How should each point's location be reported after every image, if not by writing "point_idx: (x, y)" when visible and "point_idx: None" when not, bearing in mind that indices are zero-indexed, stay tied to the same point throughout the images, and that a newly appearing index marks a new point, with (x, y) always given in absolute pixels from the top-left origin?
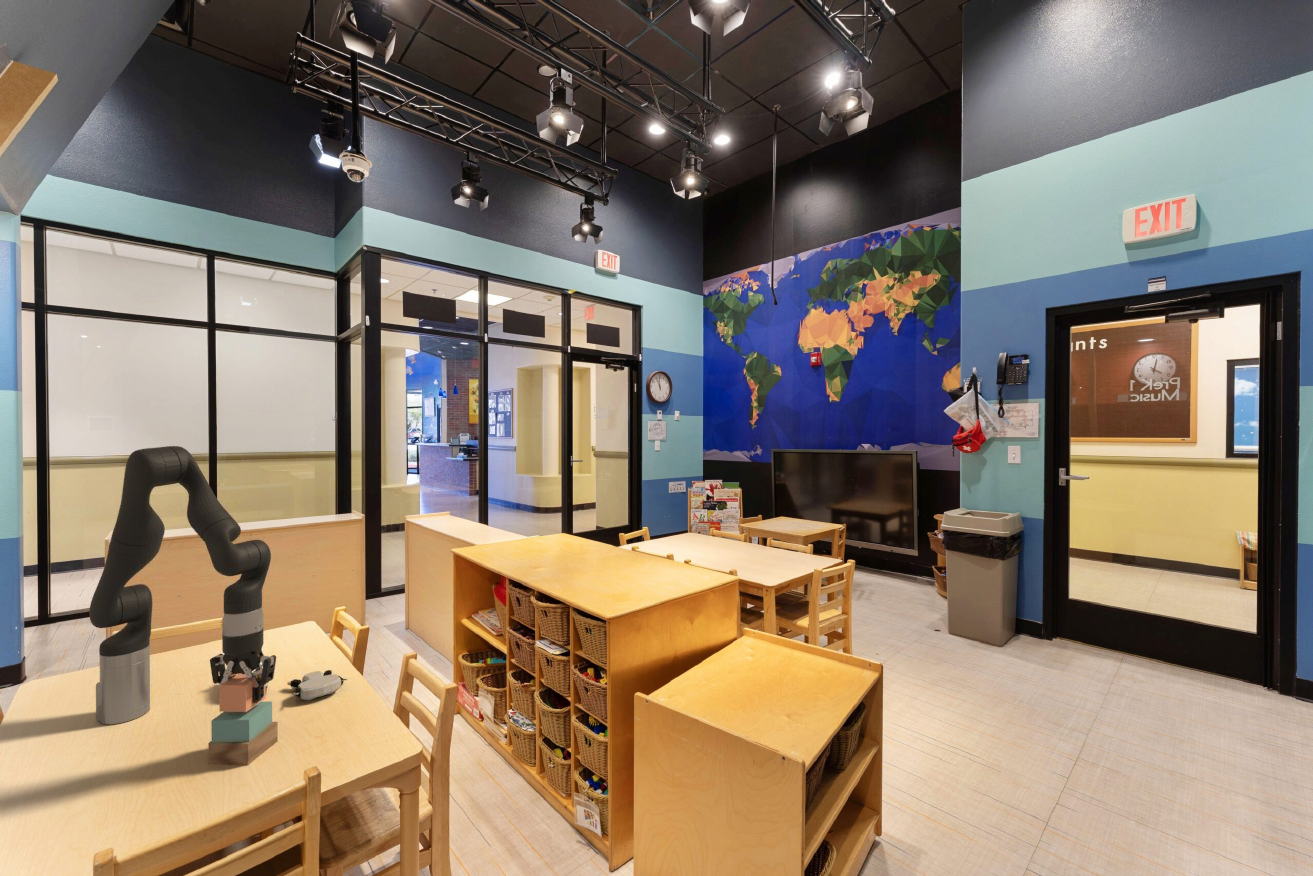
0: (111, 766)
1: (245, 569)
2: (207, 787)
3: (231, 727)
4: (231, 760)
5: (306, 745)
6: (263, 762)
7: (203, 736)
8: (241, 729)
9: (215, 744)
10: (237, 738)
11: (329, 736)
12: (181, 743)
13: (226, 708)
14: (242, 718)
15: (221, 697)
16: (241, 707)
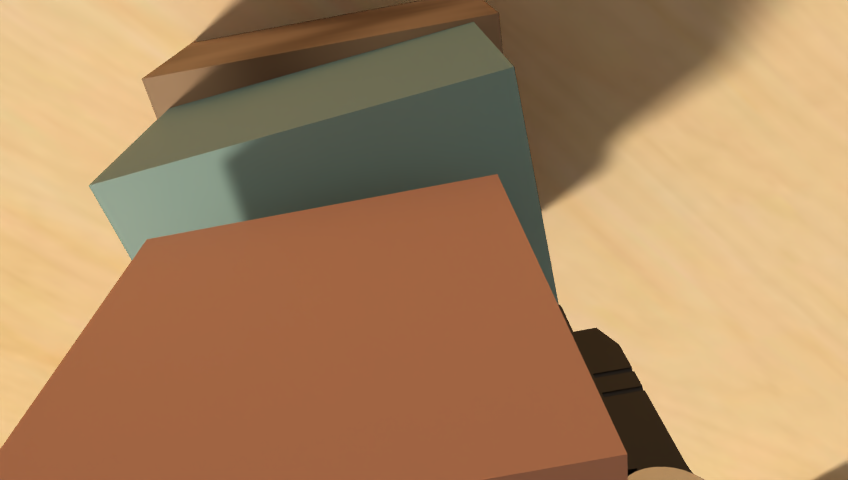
0: None
1: None
2: None
3: (296, 106)
4: (304, 25)
5: (60, 289)
6: (125, 92)
7: (759, 219)
8: (200, 125)
9: (431, 22)
10: (256, 90)
11: (28, 379)
12: (839, 135)
13: (405, 210)
14: (198, 190)
15: (509, 282)
16: (183, 258)
